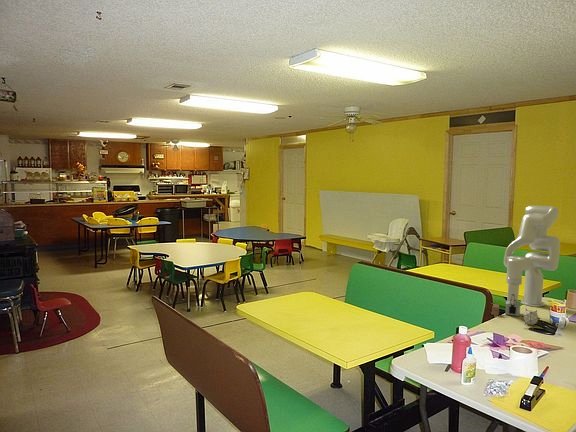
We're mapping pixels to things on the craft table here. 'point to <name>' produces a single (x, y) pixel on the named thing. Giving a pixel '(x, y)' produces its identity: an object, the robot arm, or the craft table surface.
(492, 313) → the walnut block
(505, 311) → the grey block
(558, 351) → the craft table surface
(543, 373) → the craft table surface
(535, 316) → the grey spiky ball
